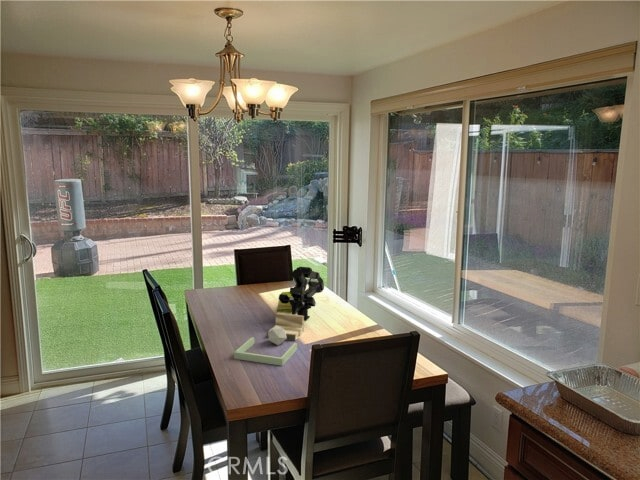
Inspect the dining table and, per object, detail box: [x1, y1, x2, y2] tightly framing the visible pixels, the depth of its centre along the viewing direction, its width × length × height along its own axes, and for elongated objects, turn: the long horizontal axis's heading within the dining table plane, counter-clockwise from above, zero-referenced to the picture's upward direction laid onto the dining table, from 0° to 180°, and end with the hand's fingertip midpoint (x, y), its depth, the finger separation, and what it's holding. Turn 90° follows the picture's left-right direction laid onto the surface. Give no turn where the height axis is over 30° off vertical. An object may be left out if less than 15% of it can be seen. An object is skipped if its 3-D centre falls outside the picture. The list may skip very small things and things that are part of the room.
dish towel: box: [276, 291, 292, 313], centre depth 281 cm, size 15×36×3 cm, turn 1°
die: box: [267, 324, 287, 346], centre depth 221 cm, size 8×9×10 cm
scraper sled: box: [267, 312, 305, 342], centre depth 231 cm, size 13×14×8 cm
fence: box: [233, 336, 298, 367], centre depth 209 cm, size 18×22×3 cm
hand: (293, 315), depth 240 cm, fingers closed
